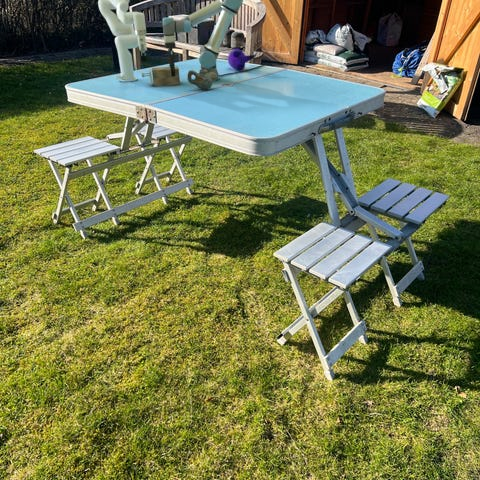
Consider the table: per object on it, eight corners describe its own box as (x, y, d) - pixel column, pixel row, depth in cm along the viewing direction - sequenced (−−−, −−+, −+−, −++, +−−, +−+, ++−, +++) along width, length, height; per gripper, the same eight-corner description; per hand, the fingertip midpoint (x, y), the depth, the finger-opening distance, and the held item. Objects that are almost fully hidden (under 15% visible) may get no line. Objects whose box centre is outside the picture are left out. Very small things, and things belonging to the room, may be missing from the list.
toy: (240, 72, 359) (228, 71, 382) (259, 65, 362) (246, 64, 386) (234, 52, 351) (222, 52, 375) (253, 45, 354) (241, 45, 378)
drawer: (143, 85, 320) (141, 72, 315) (142, 83, 328) (141, 69, 324) (175, 83, 324) (174, 70, 320) (174, 81, 332) (173, 68, 328)
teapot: (216, 86, 317) (215, 63, 310) (220, 89, 308) (219, 66, 300) (186, 88, 312) (184, 66, 304) (190, 92, 302) (188, 68, 295)
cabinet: (154, 86, 321) (152, 70, 316) (153, 83, 331) (151, 67, 325) (180, 84, 325) (178, 68, 319) (178, 82, 334) (177, 66, 328)
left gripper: (146, 33, 302) (150, 62, 311) (145, 31, 315) (148, 59, 324) (135, 34, 300) (139, 63, 309) (134, 31, 314) (138, 59, 323)
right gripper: (176, 43, 305) (179, 77, 316) (173, 40, 325) (176, 71, 336) (165, 44, 304) (168, 78, 315) (163, 40, 323) (166, 72, 335)
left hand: (144, 61), depth 317 cm, fingers closed
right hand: (172, 75), depth 325 cm, fingers closed on cabinet, 11 cm apart
